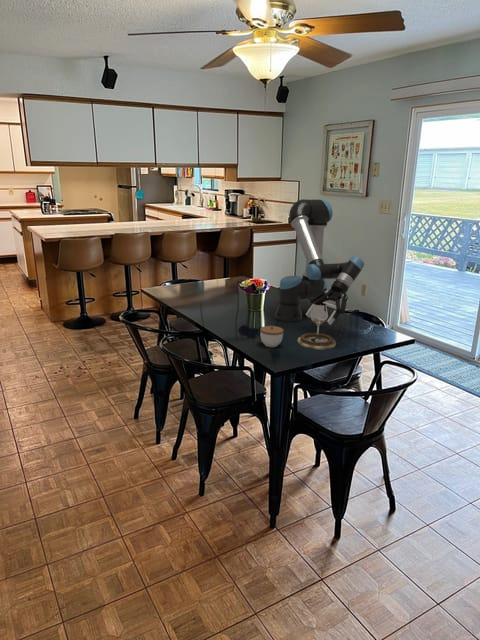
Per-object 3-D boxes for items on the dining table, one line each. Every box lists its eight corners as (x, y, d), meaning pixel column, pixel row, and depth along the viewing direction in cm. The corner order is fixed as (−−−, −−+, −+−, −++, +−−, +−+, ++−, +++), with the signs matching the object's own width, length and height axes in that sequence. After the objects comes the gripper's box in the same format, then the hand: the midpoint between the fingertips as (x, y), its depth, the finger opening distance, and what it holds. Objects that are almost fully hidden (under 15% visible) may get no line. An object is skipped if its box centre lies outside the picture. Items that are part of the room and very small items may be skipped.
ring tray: (294, 347, 221) (295, 341, 220) (300, 335, 238) (300, 330, 237) (334, 351, 217) (334, 345, 216) (337, 339, 233) (337, 334, 233)
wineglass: (322, 344, 222) (324, 307, 217) (305, 341, 226) (308, 304, 221) (328, 340, 228) (331, 303, 223) (312, 337, 232) (315, 301, 227)
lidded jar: (284, 349, 218) (285, 329, 216) (261, 348, 217) (262, 329, 215) (280, 341, 228) (281, 322, 226) (258, 341, 227) (259, 322, 225)
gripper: (366, 294, 221) (341, 331, 216) (325, 284, 240) (302, 317, 235) (359, 284, 216) (335, 321, 212) (319, 275, 235) (295, 309, 230)
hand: (317, 319), depth 223 cm, fingers open, 13 cm apart
